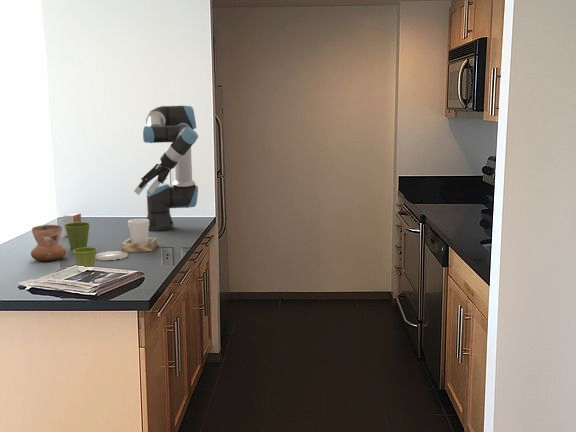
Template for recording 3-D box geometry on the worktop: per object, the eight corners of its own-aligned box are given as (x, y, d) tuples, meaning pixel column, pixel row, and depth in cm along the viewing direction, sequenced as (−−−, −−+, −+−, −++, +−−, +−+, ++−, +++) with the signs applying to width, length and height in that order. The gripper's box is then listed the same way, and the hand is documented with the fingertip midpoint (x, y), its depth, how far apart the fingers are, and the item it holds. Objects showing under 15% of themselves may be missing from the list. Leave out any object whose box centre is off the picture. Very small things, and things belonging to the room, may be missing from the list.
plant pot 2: (103, 268, 273) (102, 247, 272) (89, 274, 265) (88, 252, 263) (83, 267, 276) (82, 246, 275) (69, 272, 268) (67, 251, 266)
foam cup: (131, 246, 314) (129, 219, 312) (151, 245, 315) (150, 218, 312) (128, 251, 305) (126, 222, 302) (148, 250, 305) (147, 222, 303)
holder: (157, 245, 316) (157, 237, 315) (151, 251, 303) (150, 244, 302) (129, 245, 316) (128, 238, 316) (121, 251, 303) (121, 244, 303)
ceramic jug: (66, 262, 285) (64, 229, 282) (30, 265, 280) (27, 231, 278) (66, 253, 302) (64, 222, 299) (32, 255, 297) (30, 224, 295)
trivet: (122, 252, 303) (122, 249, 302) (131, 258, 291) (131, 255, 290) (91, 255, 296) (91, 253, 296) (99, 262, 284) (99, 260, 284)
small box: (74, 236, 339) (73, 215, 337) (64, 236, 340) (62, 215, 338) (82, 233, 346) (81, 213, 345) (72, 233, 347) (71, 212, 346)
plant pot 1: (69, 252, 303) (67, 227, 302) (62, 247, 313) (61, 223, 311) (95, 248, 310) (93, 224, 308) (88, 244, 320) (86, 221, 318)
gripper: (165, 162, 288) (136, 199, 292) (188, 162, 312) (160, 196, 316) (153, 151, 288) (124, 187, 293) (176, 152, 313) (149, 185, 317)
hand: (143, 192), depth 305 cm, fingers open, 13 cm apart
